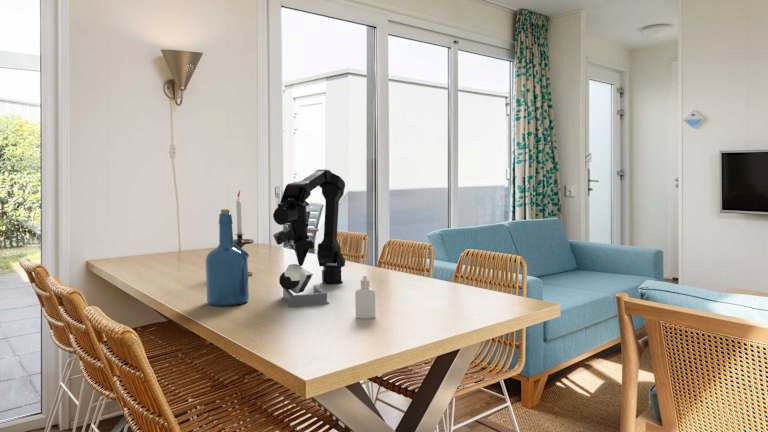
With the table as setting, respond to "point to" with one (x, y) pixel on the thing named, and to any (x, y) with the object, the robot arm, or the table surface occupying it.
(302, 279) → the medicine bottle
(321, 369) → the table surface
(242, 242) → the candlestick
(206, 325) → the table surface
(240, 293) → the wine bottle
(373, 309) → the eye dropper bottle
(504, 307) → the table surface
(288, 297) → the u rest
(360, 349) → the table surface
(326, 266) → the robot arm
